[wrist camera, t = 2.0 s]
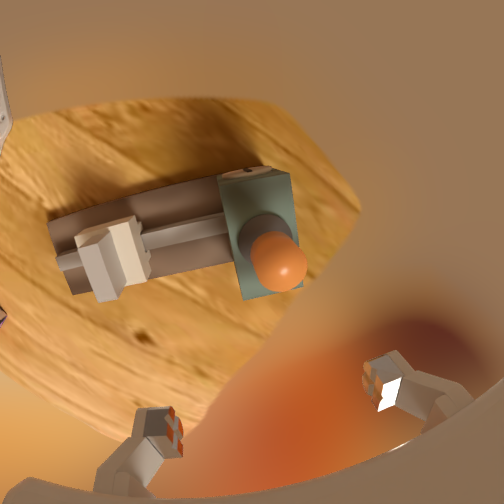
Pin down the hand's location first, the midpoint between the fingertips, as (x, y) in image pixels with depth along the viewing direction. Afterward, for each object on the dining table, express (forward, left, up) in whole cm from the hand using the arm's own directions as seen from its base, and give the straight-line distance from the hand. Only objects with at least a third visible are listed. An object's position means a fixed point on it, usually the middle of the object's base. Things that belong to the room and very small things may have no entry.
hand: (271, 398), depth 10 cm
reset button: (-1, +3, -13) cm, 13 cm away
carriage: (-1, -13, -26) cm, 29 cm away
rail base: (-1, -9, -28) cm, 29 cm away
